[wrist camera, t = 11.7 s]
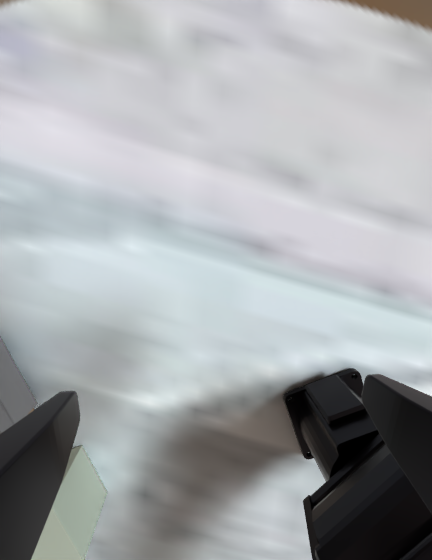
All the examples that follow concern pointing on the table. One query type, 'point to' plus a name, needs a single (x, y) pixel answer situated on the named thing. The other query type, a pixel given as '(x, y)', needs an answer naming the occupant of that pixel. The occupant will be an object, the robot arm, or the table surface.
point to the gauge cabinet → (73, 512)
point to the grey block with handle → (12, 391)
